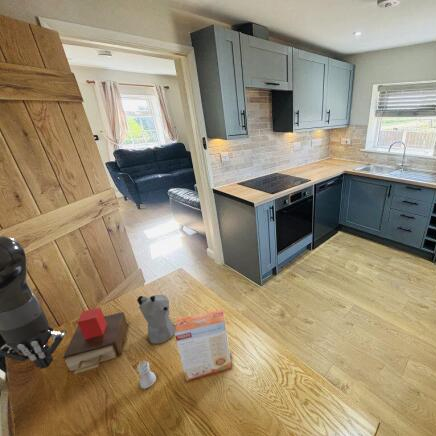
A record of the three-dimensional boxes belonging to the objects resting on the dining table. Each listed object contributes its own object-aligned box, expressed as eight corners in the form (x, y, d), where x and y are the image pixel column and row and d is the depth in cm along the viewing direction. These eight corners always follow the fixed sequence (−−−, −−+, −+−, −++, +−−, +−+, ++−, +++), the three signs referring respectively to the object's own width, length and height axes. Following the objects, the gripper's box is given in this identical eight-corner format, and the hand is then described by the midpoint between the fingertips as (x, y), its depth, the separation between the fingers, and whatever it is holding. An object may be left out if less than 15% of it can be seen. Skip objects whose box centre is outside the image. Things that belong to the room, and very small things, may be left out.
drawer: (113, 368, 77) (108, 358, 75) (64, 383, 72) (58, 373, 70) (124, 327, 92) (120, 318, 90) (84, 337, 87) (80, 328, 85)
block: (85, 339, 80) (77, 322, 77) (89, 328, 84) (82, 311, 81) (102, 335, 82) (95, 317, 79) (106, 324, 86) (100, 307, 83)
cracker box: (229, 353, 84) (224, 307, 76) (231, 368, 79) (225, 322, 70) (187, 364, 80) (176, 317, 71) (185, 381, 74) (173, 333, 66)
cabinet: (119, 355, 82) (114, 342, 79) (70, 370, 77) (62, 356, 74) (127, 324, 94) (123, 311, 92) (85, 335, 89) (79, 322, 87)
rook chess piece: (151, 389, 72) (145, 372, 69) (136, 389, 72) (130, 371, 69) (159, 375, 76) (154, 358, 73) (145, 374, 76) (139, 357, 73)
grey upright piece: (184, 330, 92) (176, 293, 85) (164, 350, 84) (153, 311, 77) (156, 317, 98) (147, 282, 91) (134, 335, 90) (122, 298, 83)
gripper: (61, 299, 63) (82, 346, 69) (-8, 312, 58) (21, 361, 64) (48, 320, 56) (71, 369, 63) (-31, 337, 51) (3, 388, 58)
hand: (46, 365), depth 64 cm, fingers closed
